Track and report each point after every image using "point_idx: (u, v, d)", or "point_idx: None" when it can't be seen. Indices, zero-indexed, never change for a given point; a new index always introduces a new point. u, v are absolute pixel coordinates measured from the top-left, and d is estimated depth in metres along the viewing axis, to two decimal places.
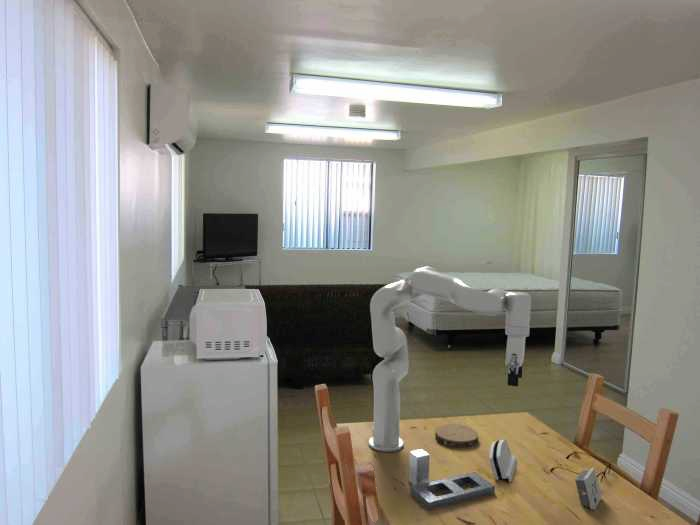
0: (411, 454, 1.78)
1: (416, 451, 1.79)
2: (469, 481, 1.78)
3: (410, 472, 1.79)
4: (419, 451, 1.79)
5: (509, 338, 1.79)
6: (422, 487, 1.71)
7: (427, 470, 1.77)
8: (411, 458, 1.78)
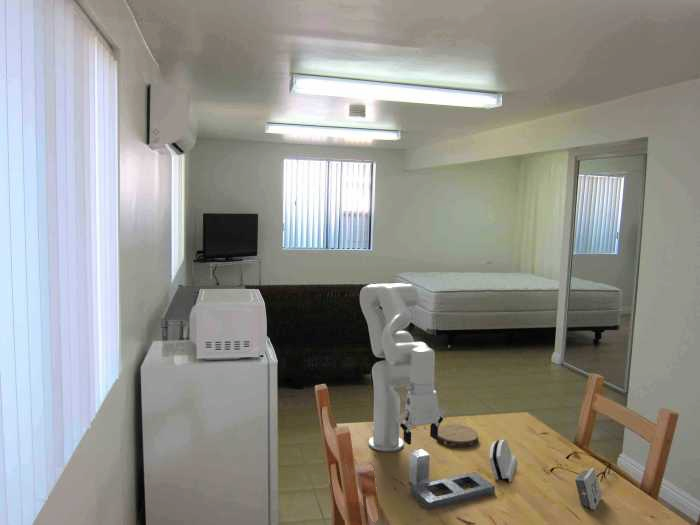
0: (411, 454, 1.78)
1: (416, 451, 1.79)
2: (469, 481, 1.78)
3: (410, 472, 1.79)
4: (419, 451, 1.79)
5: (436, 393, 1.76)
6: (422, 487, 1.71)
7: (427, 470, 1.77)
8: (411, 458, 1.78)
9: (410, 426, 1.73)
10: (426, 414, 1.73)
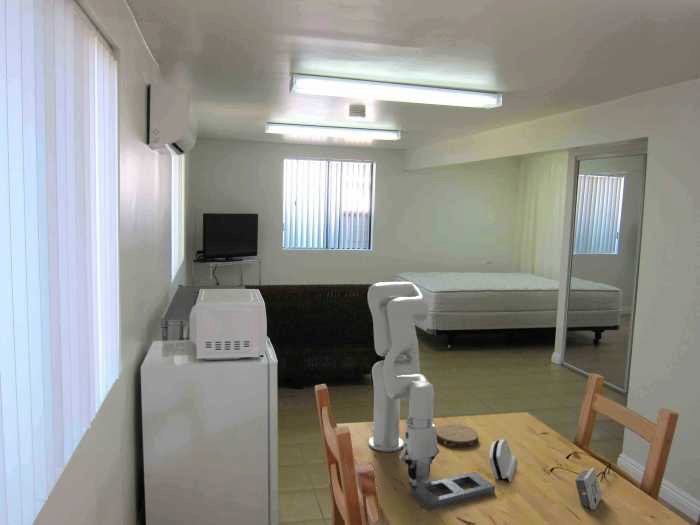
0: None
1: None
2: (469, 481, 1.78)
3: None
4: None
5: None
6: (422, 487, 1.71)
7: (427, 470, 1.77)
8: None
9: (413, 461, 1.75)
10: (424, 448, 1.75)
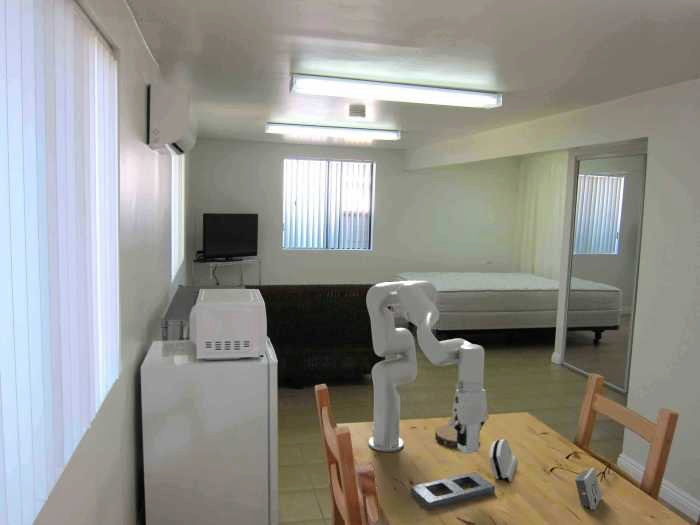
0: None
1: None
2: (469, 481, 1.78)
3: None
4: None
5: None
6: (422, 487, 1.71)
7: (477, 436, 1.71)
8: None
9: (463, 427, 1.70)
10: (475, 413, 1.69)
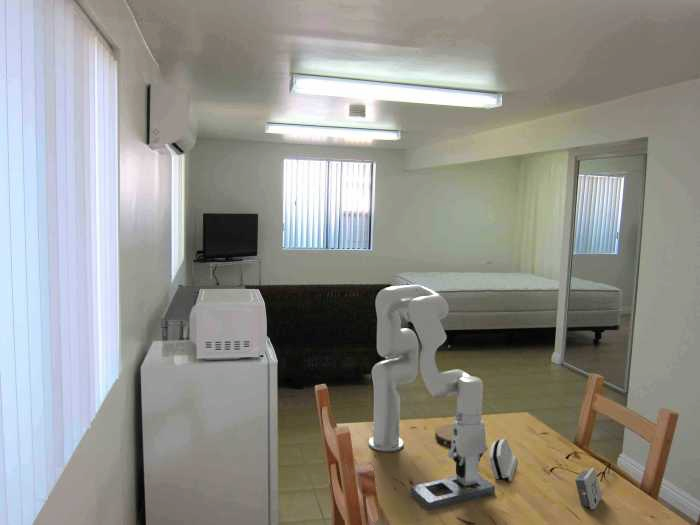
0: None
1: None
2: None
3: None
4: None
5: (483, 423, 1.72)
6: (422, 487, 1.71)
7: (476, 468, 1.72)
8: None
9: (462, 459, 1.71)
10: (473, 445, 1.70)
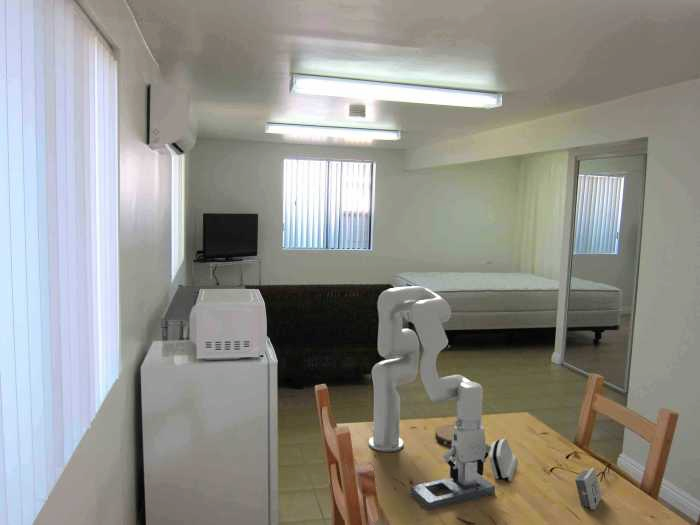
0: None
1: None
2: None
3: None
4: None
5: (483, 429, 1.72)
6: (422, 487, 1.71)
7: (475, 477, 1.73)
8: (458, 465, 1.74)
9: (457, 463, 1.70)
10: (473, 450, 1.70)
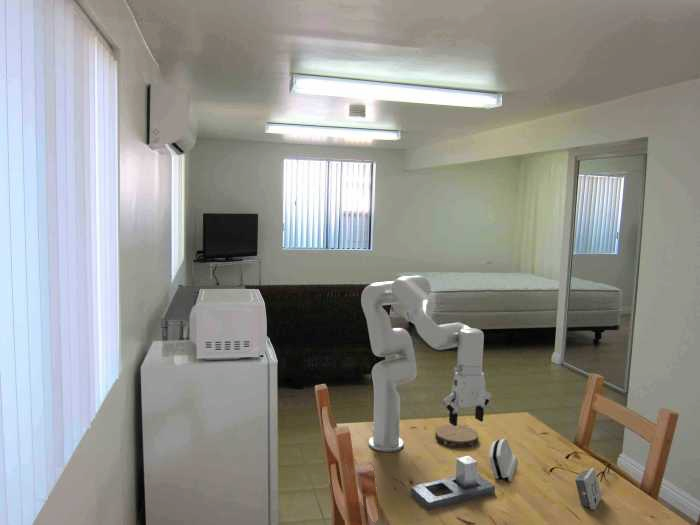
0: (458, 461, 1.74)
1: (463, 458, 1.74)
2: None
3: (457, 479, 1.74)
4: (466, 458, 1.74)
5: (483, 375, 1.73)
6: (422, 487, 1.71)
7: (475, 477, 1.73)
8: (458, 465, 1.74)
9: (457, 407, 1.71)
10: (473, 396, 1.71)
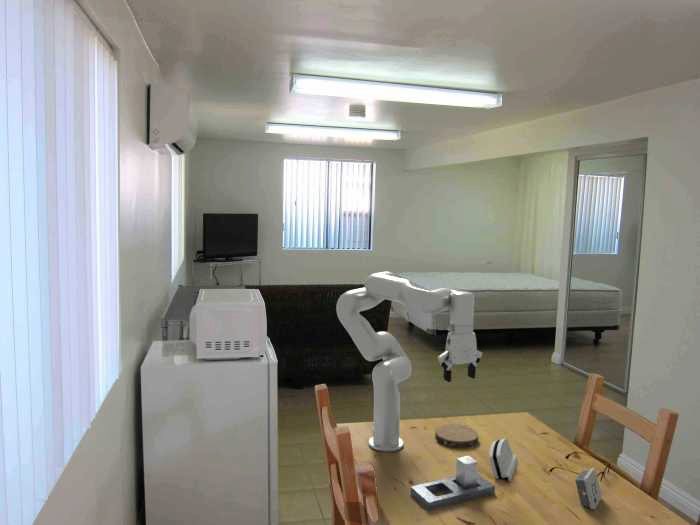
0: (458, 461, 1.74)
1: (463, 458, 1.74)
2: None
3: (457, 479, 1.74)
4: (466, 458, 1.74)
5: None
6: (422, 487, 1.71)
7: (475, 477, 1.73)
8: (458, 465, 1.74)
9: (450, 365, 1.84)
10: (465, 354, 1.84)
